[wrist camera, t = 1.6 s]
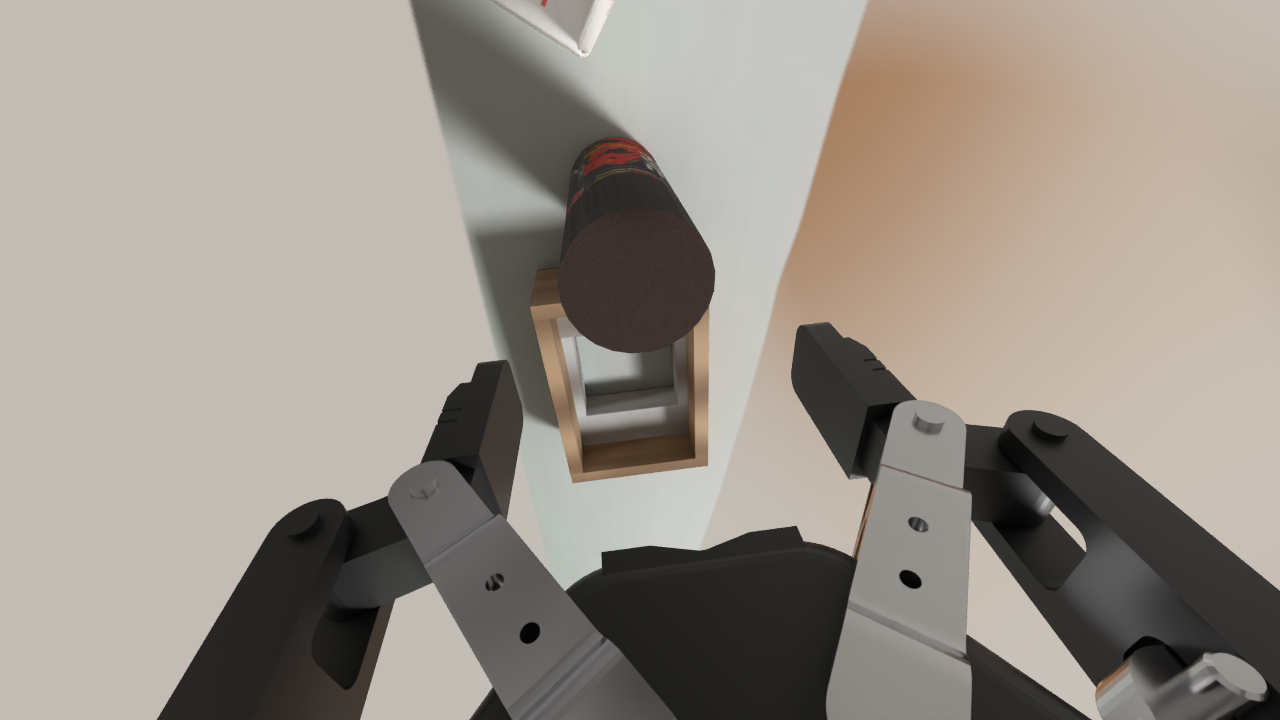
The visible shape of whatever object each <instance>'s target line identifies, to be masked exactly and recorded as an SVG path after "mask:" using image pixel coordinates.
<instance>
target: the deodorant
mask: <svg viewBox="0 0 1280 720" xmlns="http://www.w3.org/2000/svg"><path fill="white" fill-rule="evenodd" d="M714 283H715V269H714V265H713V260H712V256H711V252H710V251H709V249H708V247H707V245H706V244H705V242H704V240H703V238H702V236H701V235H700V233H699V232H698V230H697V228H696V227H695V225H694V223H693V222H692V220H691V219H690V217H689V215H688V214H687V212H686V210H685V209H684V207H683V206H682V204H681V202H680V201H679V199H678V197H677V196H676V194H675V193H674V191H673V189H672V188H671V186H670V184H669V183H668V181H667V180H666V178H665V176H664V175H663V173H662V171H661V170H660V168H659V167H658V165H657V163H656V162H655V160H654V158H653V157H652V155H651V154H650V153H649V152H648V151H647V150H646V149H645V148H644V147H643V146H641V145H639V144H638V143H636V142H634V141H632V140H629V139H625V138H620V137H614V138H605V139H602V140H600V141H597V142H594V143H593V144H592V145H590V146H589V147H588V148H586V149H585V150H584V151H583V152H582V154H581V155H580V156H579V157H578V159H577V160H576V162H575V165H574V167H573V169H572V172H571V179H570V187H569V195H568V203H567V212H566V220H565V228H564V236H563V245H562V253H561V261H560V269H559V278H558V289H559V295H560V302H561V305H562V307H563V309H564V311H565V313H566V316H567V318H568V320H569V321H570V322H571V323H572V324H573V326H574V327H575V328H576V329H577V330H578V332H579V333H580V334H582V335H583V336H584V337H586V338H587V339H589V340H590V341H592V342H593V343H594V344H596V345H599V346H602V347H604V348H607V349H609V350H612V351H618V352H626V353H640V352H650V351H653V350H657V349H660V348H663V347H666V346H668V345H670V344H672V343H674V342H675V341H677V340H679V339H681V338H682V337H684V336H685V335H686V334H687V333H688V332H689V331H691V330H692V329H693V328H694V327H695V326H696V325H697V324H698V323H699V321H700V320H701V318H702V317H703V315H704V314H705V312H706V311H707V309H708V307H709V304H710V301H711V298H712V295H713V292H714Z"/></svg>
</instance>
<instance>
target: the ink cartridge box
mask: <svg viewBox="0 0 1280 720" xmlns="http://www.w3.org/2000/svg"><path fill="white" fill-rule="evenodd" d="M491 1H493V2H494V3H496V4H497V5H499V6H500V7H502V8H503V9H505V10H506V11H508V12H509V13H511V14H512V15H514V16H515V17H517V18H518V19H520V20H522V21H523V22H525V23H526V24H528V25H529V26H531V27H533V28H534V29H536V30H537V31H539V32H541V33H542V34H544V35H545V36H547V37H548V38H550V39H552V40H553V41H555V42H556V43H558V44H560V45H561V46H563V47H565V48H566V49H568V50H569V51H571V52H573V53H574V54H576V55H578V56H580V57H582V58H584V57H586V56H588V55H589V53H590V52H591V50H592V48H593V46H594V44H595V42H596V39H597V37H598V35H599V33H600V31H601V29H602V27H603V25H604V22H605V20H606V18H607V15H608V13H609V11H610V9H611V6H612V4H613V2H614V0H491Z"/></svg>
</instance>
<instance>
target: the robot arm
mask: <svg viewBox="0 0 1280 720" xmlns="http://www.w3.org/2000/svg"><path fill="white" fill-rule="evenodd" d="M791 378H792V384H793V388H794V390H795V392H796V394H797V396H798V398H799V399H800V401H801V402H802V404H803V406H804V407H805V409H806V411H807V412H808V414H809V415H810V417H811V419H812V420H813V422H814V424H815V425H816V427H817V428H818V430H819V432H820V433H821V435H822V437H823V438H824V440H825V441H826V443H827V445H828V446H829V448H830V449H831V451H832V453H833V454H834V456H835V458H836V459H837V461H838V463H839V464H840V466H841V467H842V469H843V471H844V472H845V474H846V475H847V477H848V479H849V480H850V479H858V478H866V477H867V478H868V479H869V481H870V482H871V486H870V489H869V493H868V497H867V500H866V504H865V508H864V512H863V516H862V520H861V524H860V528H859V532H858V535H857V539H856V543H855V547H854V551H853V555H852V557H851V556H849V555H847V554H845V553H843V552H841V551H838V550H836V549H834V548H830V547H827V546H824V545H821V544H816V543H811V542H805V541H803V539H802V537H801V535H800V533H799V530H798V528H797V526H792V527H785V528H777V529H770V530H763V531H756V532H749V533H746V534H744V535H741V536H739V537H736V538H734V539H731V540H729V541H726V542H724V543H721V544H719V545H716V546H714V547H712V548H709V549H706V550H701V551H697V550H687V549H677V548H667V547H658V546H644V547H637V548H629V549H622V550H615V551H607V552H602V568H601V569H598V570H596V571H594V572H592V573H590V574H588V575H586V576H584V577H583V578H581V579H580V580H578V581H577V582H576V583H574V584H573V585H572V586H570V587H569V588H568V589H567V590H566V591H564V590H563V588H562V587H561V586H560V585H559V584H558V582H557V581H556V580H555V579H554V578H553V576H552V575H551V574H550V573H549V572H548V570H547V569H546V568H545V567H544V566H543V564H542V563H541V562H540V561H539V559H538V558H537V557H536V556H535V555H534V553H533V552H532V551H531V550H530V549H529V547H528V546H527V545H526V544H525V543H524V541H523V540H522V539H521V538H520V536H519V535H518V534H517V533H516V532H515V530H514V529H513V528H512V527H511V526H510V524H509V523H508V522H507V521H506V519H507V514H508V509H509V503H510V497H511V491H512V485H513V480H514V474H515V468H516V462H517V456H518V451H519V445H520V439H521V433H522V427H523V412H522V406H521V402H520V398H519V395H518V391H517V388H516V384H515V381H514V378H513V374H512V371H511V367H510V365H509V362H508V361H507V360H499V361H490V362H482V363H478V364H477V366H476V369H475V372H474V374H473V377H472V380H471V382H469V383H461V384H459V385H458V387H456V388H455V390H454V391H453V392H452V393H451V394H450V395H449V396H448V397H447V400H446V402H445V404H444V407H443V409H442V413H441V415H440V417H439V419H438V425H436V427H435V429H434V432H433V434H432V436H431V439H430V442H429V444H428V446H427V449H426V451H425V454H424V456H423V459H422V461H421V463H420V464H419V465H417V466H415V467H413V468H411V469H409V470H408V471H406V472H405V473H403V474H402V475H401V476H400V477H399V478H398V479H397V480H396V481H395V482H394V484H393V485H392V487H391V488H390V491H389V494H388V496H386V497H384V498H381V499H379V500H376V501H374V502H371V503H368V504H365V505H363V506H360V507H357V508H355V509H352V510H349V511H347V510H346V509H345V508H344V506H343V505H342V504H341V502H339V501H337V500H334V499H319V500H316V501H312V502H309V503H306V504H304V505H302V506H300V507H298V508H296V509H294V510H293V511H291V512H290V513H288V514H287V515H285V517H283V518H282V519H281V520H280V521H278V522H277V523H276V525H275V526H274V527H273V528H272V529H271V530H270V532H269V533H268V535H267V537H266V538H265V540H264V542H263V543H262V545H261V547H260V548H259V550H258V552H257V554H256V555H255V557H254V558H253V560H252V562H251V563H250V565H249V567H248V568H247V570H246V572H245V573H244V575H243V577H242V579H241V580H240V582H239V583H238V585H237V587H236V588H235V590H234V592H233V593H232V595H231V597H230V598H229V600H228V602H227V604H226V605H225V607H224V609H223V610H222V612H221V613H220V615H219V617H218V618H217V620H216V622H215V623H214V625H213V627H212V628H211V630H210V632H209V634H208V635H207V637H206V639H205V640H204V642H203V644H202V645H201V647H200V649H199V650H198V652H197V654H196V655H195V657H194V659H193V660H192V662H191V664H190V665H189V667H188V669H187V670H186V672H185V674H184V675H183V677H182V679H181V680H180V682H179V684H178V685H177V687H176V689H175V690H174V692H173V694H172V695H171V697H170V699H169V700H168V702H167V704H166V705H165V707H164V709H163V710H162V712H161V714H160V716H159V717H158V719H157V720H360V717H361V714H362V711H363V707H364V704H365V701H366V697H367V694H368V690H369V687H370V683H371V680H372V677H373V673H374V670H375V666H376V663H377V659H378V656H379V653H380V649H381V646H382V642H383V639H384V635H385V632H386V629H387V625H388V621H389V618H390V615H391V611H392V608H393V604H394V601H395V599H396V598H399V597H401V596H403V595H405V594H408V593H410V592H412V591H415V590H417V589H419V588H421V587H423V586H426V585H428V584H430V583H434V584H435V586H436V588H437V589H438V591H439V593H440V595H441V597H442V598H443V600H444V602H445V604H446V605H447V607H448V609H449V611H450V612H451V614H452V616H453V618H454V619H455V621H456V623H457V624H458V626H459V628H460V630H461V632H462V633H463V635H464V637H465V639H466V640H467V642H468V644H469V646H470V647H471V649H472V651H473V653H474V654H475V656H476V658H477V659H478V661H479V663H480V665H481V666H482V668H483V670H484V672H485V673H486V675H487V677H488V679H489V680H490V682H491V684H492V686H493V688H492V689H491V690H490V692H489V693H488V695H487V696H486V698H485V699H484V700H483V702H482V703H481V705H480V706H479V707H478V709H477V710H476V711H475V713H474V714H473V716H472V717H471V718H470V720H1091V719H1090V718H1088V717H1087V716H1085V715H1084V714H1083V713H1081V712H1080V711H1078V710H1077V709H1075V708H1074V707H1072V706H1071V705H1069V704H1068V703H1066V702H1065V701H1064V700H1062V699H1061V698H1059V697H1058V696H1056V695H1055V694H1053V693H1052V692H1050V691H1049V690H1047V689H1046V688H1044V687H1043V686H1042V685H1040V684H1039V683H1037V682H1036V681H1034V680H1033V679H1031V678H1030V677H1028V676H1027V675H1025V674H1024V673H1023V672H1021V671H1020V670H1018V669H1017V668H1015V667H1013V666H1012V665H1011V664H1009V663H1008V662H1006V661H1005V660H1004V659H1002V658H1001V657H999V656H998V655H996V654H995V653H993V652H992V651H990V650H989V649H988V648H986V647H985V646H983V645H982V644H980V643H979V642H977V641H976V640H974V639H973V638H971V637H970V636H969V635H967V634H966V626H967V603H968V579H969V555H970V553H969V552H970V529H971V520H972V522H973V523H974V525H975V526H976V527H977V528H978V530H979V531H980V533H981V534H982V535H983V537H984V538H985V539H986V540H987V542H988V543H989V544H990V546H991V547H992V549H993V550H994V551H995V552H996V554H997V555H998V556H999V558H1000V559H1001V561H1002V562H1003V563H1004V565H1005V566H1006V567H1007V569H1008V570H1009V571H1010V572H1011V574H1012V575H1013V577H1014V578H1015V579H1016V581H1017V582H1018V583H1019V584H1020V586H1021V587H1022V589H1023V590H1024V591H1025V593H1026V594H1027V595H1028V597H1029V598H1030V599H1031V601H1032V602H1033V603H1034V605H1035V606H1036V607H1037V609H1038V610H1039V611H1040V613H1041V614H1042V615H1043V617H1044V618H1045V619H1046V620H1047V622H1048V623H1049V625H1050V626H1051V627H1052V629H1053V630H1054V631H1055V633H1056V634H1057V635H1058V637H1059V638H1060V639H1061V641H1062V642H1063V643H1064V645H1065V646H1066V647H1067V649H1068V650H1069V651H1070V653H1071V654H1072V655H1073V657H1074V658H1075V660H1076V661H1077V662H1078V663H1079V665H1080V666H1081V668H1082V669H1083V670H1084V671H1085V673H1086V674H1087V676H1088V677H1089V678H1090V679H1091V681H1092V682H1093V684H1094V685H1095V686H1096V693H1095V698H1096V705H1097V708H1098V711H1099V713H1100V716H1101V718H1102V719H1103V720H1280V591H1279V590H1278V589H1277V588H1276V587H1274V586H1273V585H1272V584H1270V582H1268V581H1267V580H1266V579H1265V578H1263V577H1262V576H1261V575H1260V574H1258V573H1257V572H1256V571H1255V570H1254V569H1252V568H1251V567H1250V566H1249V565H1247V564H1246V563H1245V562H1244V561H1243V560H1241V559H1240V558H1239V557H1238V556H1236V555H1235V554H1234V553H1233V552H1232V551H1230V550H1229V549H1228V548H1227V547H1226V546H1224V545H1223V544H1222V543H1221V542H1219V541H1218V540H1217V539H1216V538H1215V537H1213V536H1212V535H1211V534H1210V533H1208V532H1207V531H1206V530H1205V529H1204V528H1202V527H1201V526H1200V525H1199V524H1197V523H1196V522H1195V521H1194V520H1192V519H1191V518H1190V517H1189V516H1188V515H1186V514H1185V513H1184V512H1183V511H1181V510H1180V509H1179V508H1178V507H1176V506H1175V505H1174V504H1173V503H1172V502H1170V501H1169V500H1168V499H1167V498H1165V497H1164V496H1163V495H1162V494H1161V493H1160V492H1158V491H1157V490H1156V489H1155V488H1153V487H1152V486H1151V485H1150V484H1149V483H1147V482H1146V481H1145V480H1144V479H1142V478H1141V477H1140V476H1139V475H1138V474H1136V473H1135V472H1134V471H1132V470H1131V469H1130V468H1129V467H1128V466H1126V465H1125V464H1124V463H1123V462H1122V461H1120V460H1119V459H1118V458H1117V457H1116V456H1114V455H1113V454H1112V453H1111V452H1109V451H1108V450H1107V449H1106V448H1105V447H1103V446H1102V445H1101V444H1100V443H1098V442H1097V441H1096V440H1095V439H1094V438H1092V437H1091V436H1090V435H1089V434H1088V433H1086V432H1085V431H1084V430H1082V429H1081V428H1080V427H1078V426H1077V425H1076V424H1074V423H1072V422H1070V421H1068V420H1066V419H1064V418H1061V417H1059V416H1056V415H1053V414H1050V413H1046V412H1042V411H1034V410H1023V411H1018V412H1015V413H1013V414H1011V415H1010V416H1009V418H1008V419H1007V421H1006V423H1005V425H1004V427H1003V428H999V427H988V426H978V425H968V424H965V423H964V422H963V420H962V419H961V418H960V417H959V416H958V415H957V414H956V413H954V412H953V411H951V410H950V409H948V408H946V407H944V406H941V405H939V404H936V403H933V402H928V401H921V400H917V399H916V398H915V397H914V396H913V395H912V394H911V393H910V392H909V391H908V390H907V389H906V388H905V387H904V386H903V385H902V384H901V383H900V382H899V381H898V380H897V378H896V377H895V376H894V375H893V374H892V373H891V372H890V371H889V370H886V367H885V366H884V365H883V364H882V363H881V362H880V361H879V360H877V357H876V356H874V354H873V353H872V352H871V351H870V350H869V349H868V348H867V347H866V346H864V345H862V344H860V343H859V342H857V341H855V340H853V339H851V338H849V337H848V338H843V337H842V336H841V335H840V334H839V333H838V332H837V331H836V329H835V328H834V327H833V326H832V325H831V324H830V323H828V322H824V323H815V324H807V325H800V326H799V328H798V329H797V333H796V340H795V348H794V355H793V363H792V370H791ZM1055 505H1056V506H1057V507H1058V508H1059V509H1060V510H1061V512H1062V513H1063V514H1065V516H1066V517H1067V518H1068V519H1069V520H1070V521H1071V522H1072V523H1073V524H1074V525H1075V526H1076V527H1077V528H1078V529H1079V531H1080V532H1081V533H1082V536H1083V537H1084V540H1085V542H1086V548H1087V550H1086V552H1085V551H1084V550H1083V549H1082V548H1081V547H1080V546H1079V545H1078V544H1077V543H1076V541H1075V540H1074V539H1073V538H1072V537H1071V536H1070V535H1069V534H1068V533H1067V532H1066V531H1065V530H1064V528H1063V527H1062V526H1061V525H1060V524H1059V523H1058V522H1057V521H1056V520H1055V519H1054V518H1053V517H1052V516H1051V515H1050V512H1051V511H1052V509H1053V508H1054V506H1055Z"/></svg>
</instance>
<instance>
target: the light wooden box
mask: <svg viewBox="0 0 1280 720" xmlns="http://www.w3.org/2000/svg"><path fill="white" fill-rule="evenodd" d="M559 269H560V268H555V269H546V270H538V271H537V276H536V280H535V285H534V290H533V294H532V299H531V303H530V310H531V314H532V318H533V322H534V326H535V330H536V334H537V339H538V343H539V347H540V351H541V355H542V359H543V363H544V367H545V371H546V376H547V380H548V384H549V388H550V392H551V396H552V400H553V404H554V408H555V413H556V417H557V421H558V425H559V429H560V433H561V437H562V441H563V445H564V450H565V454H566V458H567V462H568V466H569V470H570V474H571V478H572V482H573V483H577V482H585V481H593V480H601V479H608V478H616V477H624V476H631V475H639V474H647V473H655V472H662V471H670V470H678V469H685V468H693V467H701V466H708V380H709V307H708V309H707V311H706V312H705V314H704V315H703V317H702V318H701V320H700V321H699V323H698V324H697V325H696V326H695V327H694V328H693V329H692V330H691V331H689V332H688V333H687V334H686V335H685V336H684V337H682V338H681V339H679V340H677V341H675V342H674V343H672V357H673V378H674V386H669V387H661V388H653V389H645V390H636V391H628V392H620V393H612V394H604V395H596V396H588V397H587V396H586V390H585V385H584V380H583V374H582V369H581V364H580V358H579V353H578V348H577V342H576V337H577V336H583V335H582V334H580V333H579V332H578V330H577V329H576V328H575V327H574V326H573V324H572V323H571V322H570V321H569V320H568V318H567V316H566V313H565V311H564V309H563V307H562V305H561V302H560V295H559V289H558V278H559Z"/></svg>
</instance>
